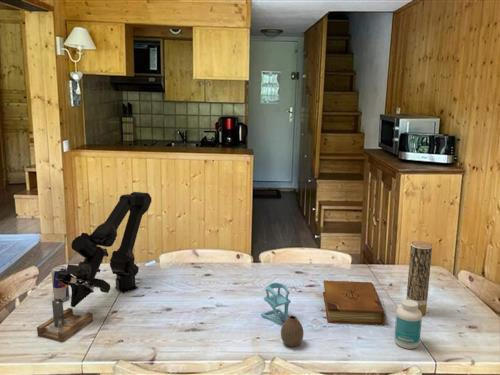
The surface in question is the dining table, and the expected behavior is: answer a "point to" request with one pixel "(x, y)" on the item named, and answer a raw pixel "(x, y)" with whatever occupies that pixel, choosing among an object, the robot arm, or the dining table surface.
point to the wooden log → (419, 273)
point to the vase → (292, 332)
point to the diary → (352, 303)
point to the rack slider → (57, 318)
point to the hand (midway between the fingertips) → (72, 306)
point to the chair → (276, 302)
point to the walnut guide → (71, 329)
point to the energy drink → (59, 284)
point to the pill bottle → (408, 325)
